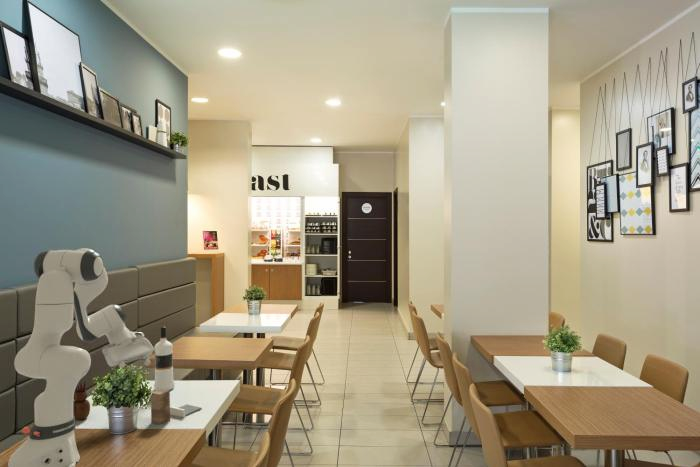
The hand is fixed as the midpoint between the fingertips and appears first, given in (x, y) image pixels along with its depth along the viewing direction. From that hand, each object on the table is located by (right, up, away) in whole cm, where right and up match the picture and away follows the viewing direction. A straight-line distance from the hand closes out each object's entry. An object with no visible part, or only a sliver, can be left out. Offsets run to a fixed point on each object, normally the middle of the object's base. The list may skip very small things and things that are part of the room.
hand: (139, 367), depth 208 cm
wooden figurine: (-23, -21, -2) cm, 31 cm away
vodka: (-2, -20, +35) cm, 40 cm away
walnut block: (+11, -20, -6) cm, 24 cm away
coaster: (+18, -20, +5) cm, 27 cm away
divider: (+14, -20, +1) cm, 24 cm away
